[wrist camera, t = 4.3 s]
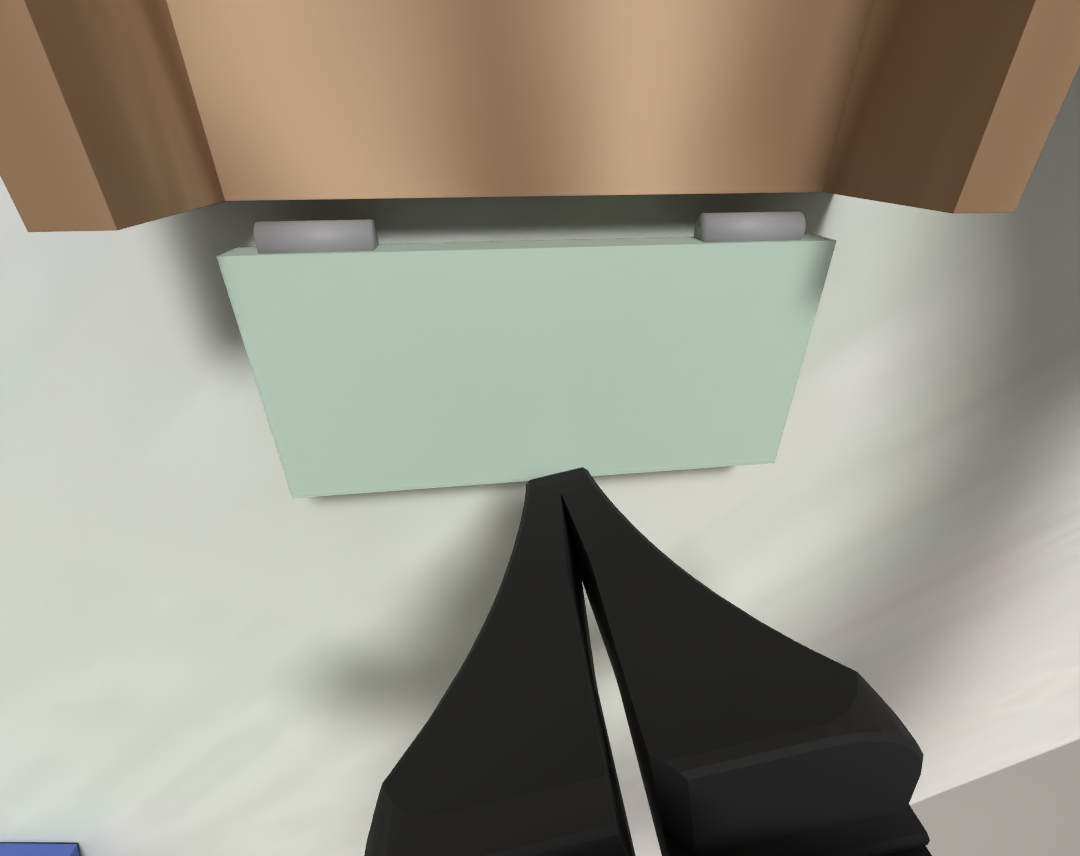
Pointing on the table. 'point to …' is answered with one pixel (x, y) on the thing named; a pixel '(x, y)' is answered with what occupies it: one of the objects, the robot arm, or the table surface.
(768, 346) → the panel
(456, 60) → the crate
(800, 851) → the robot arm
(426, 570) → the table surface
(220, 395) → the table surface
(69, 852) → the walkman
